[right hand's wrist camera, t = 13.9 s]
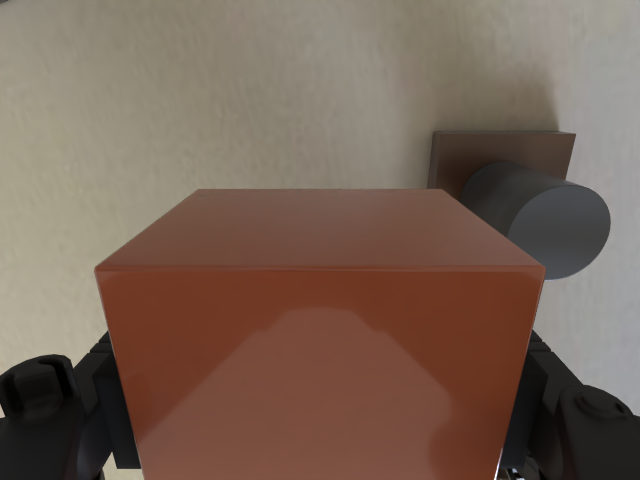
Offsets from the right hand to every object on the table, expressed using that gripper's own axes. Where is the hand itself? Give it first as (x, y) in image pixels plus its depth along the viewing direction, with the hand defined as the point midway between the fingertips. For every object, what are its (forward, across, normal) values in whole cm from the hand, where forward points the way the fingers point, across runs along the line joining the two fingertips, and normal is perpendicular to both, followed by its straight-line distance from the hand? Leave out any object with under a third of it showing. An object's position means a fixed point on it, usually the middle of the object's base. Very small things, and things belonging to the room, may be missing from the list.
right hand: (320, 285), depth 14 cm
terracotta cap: (-1, 0, 0) cm, 1 cm away
